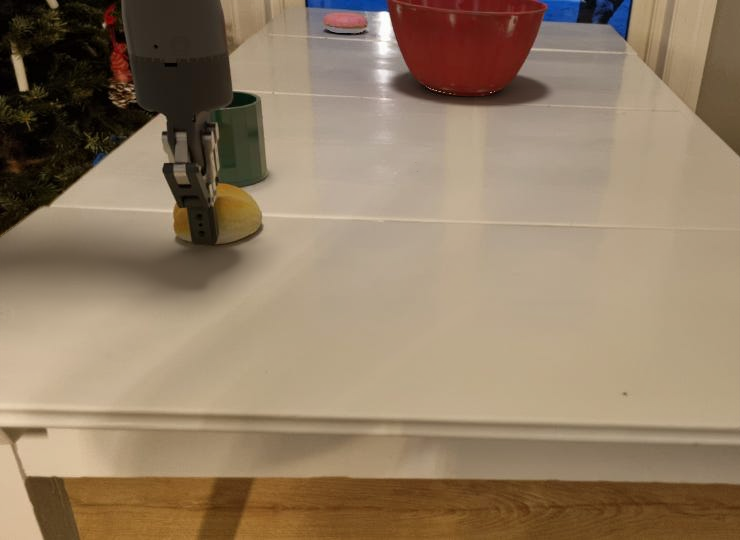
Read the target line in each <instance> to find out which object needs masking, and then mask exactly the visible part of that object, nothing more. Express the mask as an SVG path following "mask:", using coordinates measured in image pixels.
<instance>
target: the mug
mask: <svg viewBox="0 0 740 540" xmlns="http://www.w3.org/2000/svg"><path fill="white" fill-rule="evenodd" d="M262 106H263V105H262V97H261V96H259V95H257V94H255V93H252V92H247V91H239V90H233V100H232V102H231V103H230V104H229V105H228V106H226V107H224V108H222V109H219V110H215V111H211V112H210V122H217V124H218V128H219V139H218V158H219V170H218V177H219V180H220V181H219V182H218V183H222V184H229V185H232V186H236V187H238V188H241V187H247V186H251V185H255V184H257V183H260V182H262V181H263V180H265V179H266V177H267V176H268V166H267V165H268V164H267V154H266V143H265V142H266V141H265V131H264V129H265V128H264V120H263V108H262Z"/></svg>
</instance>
